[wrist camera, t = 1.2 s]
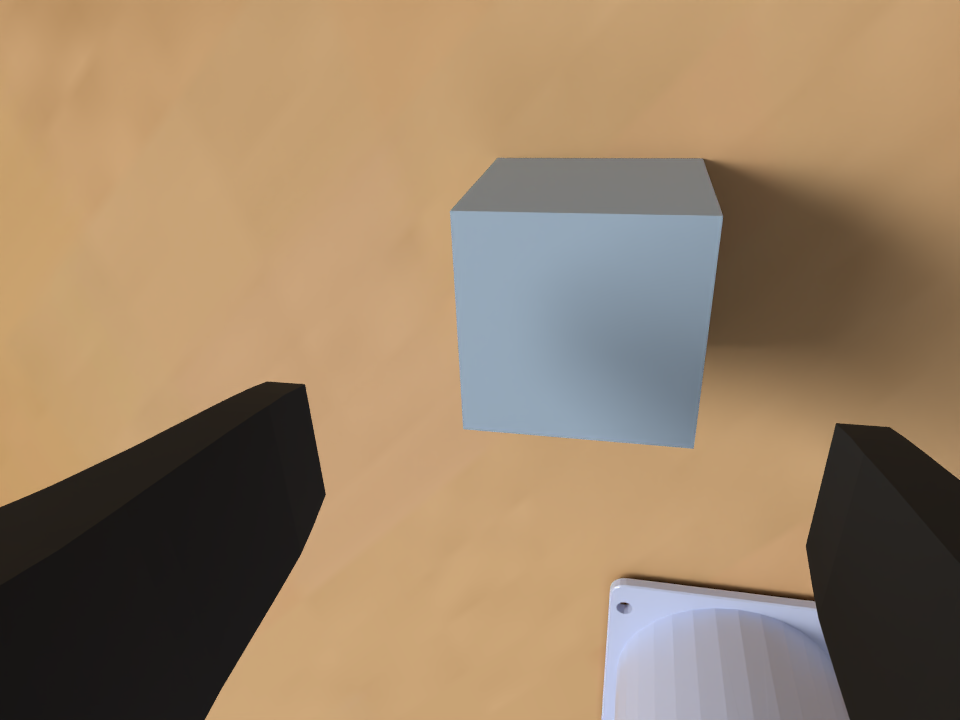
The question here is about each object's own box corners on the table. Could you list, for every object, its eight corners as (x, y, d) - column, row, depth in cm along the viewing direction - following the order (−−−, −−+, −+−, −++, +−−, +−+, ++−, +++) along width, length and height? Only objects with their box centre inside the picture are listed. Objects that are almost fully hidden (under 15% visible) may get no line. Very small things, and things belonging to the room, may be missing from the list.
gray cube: (682, 343, 19) (693, 449, 14) (502, 334, 20) (463, 429, 15) (702, 157, 16) (723, 216, 12) (498, 157, 17) (449, 210, 13)
